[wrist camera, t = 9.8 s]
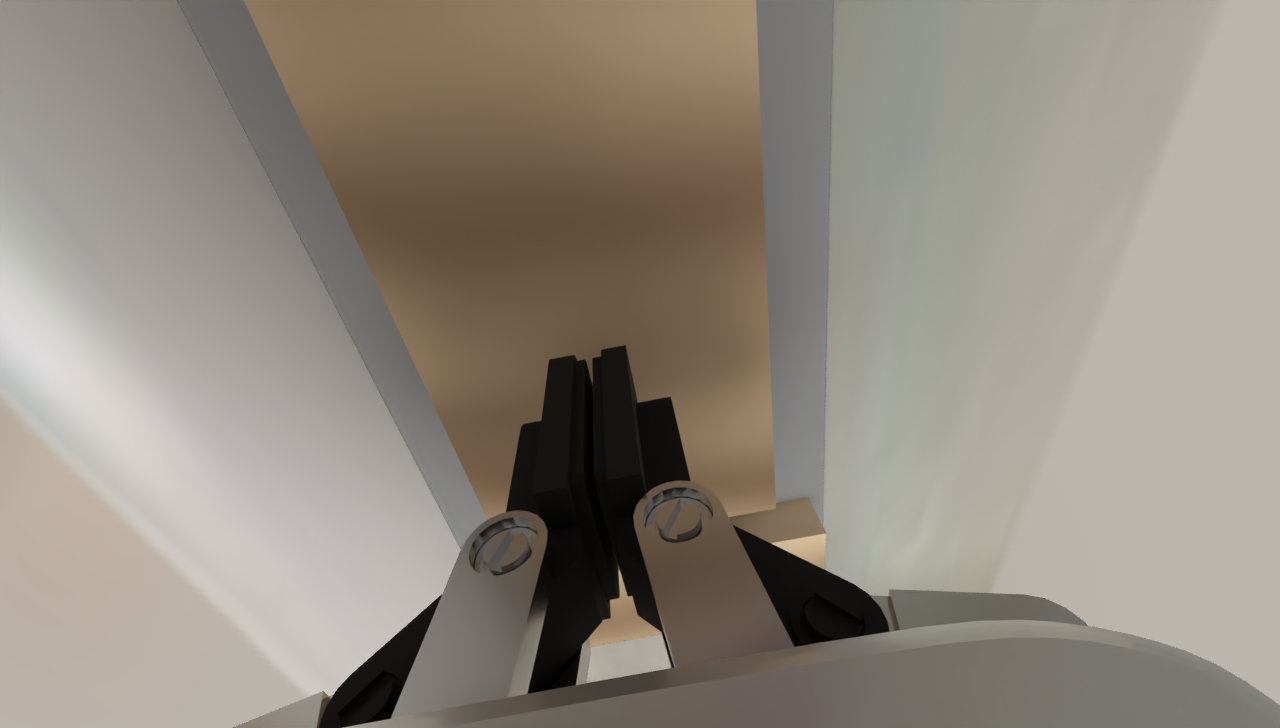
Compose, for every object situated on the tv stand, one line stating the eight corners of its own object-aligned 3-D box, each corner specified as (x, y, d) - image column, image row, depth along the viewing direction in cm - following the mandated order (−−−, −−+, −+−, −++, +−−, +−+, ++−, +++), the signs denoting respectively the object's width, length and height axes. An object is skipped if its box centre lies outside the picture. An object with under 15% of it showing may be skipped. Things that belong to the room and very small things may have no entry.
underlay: (-358, -1074, 5) (-410, -1135, 5) (847, -1362, 5) (862, -1441, 5) (501, 617, 19) (499, 625, 19) (819, 560, 19) (821, 567, 19)
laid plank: (480, 556, 17) (471, 597, 16) (808, 497, 17) (826, 533, 16) (512, 621, 19) (506, 661, 18) (808, 568, 19) (824, 605, 18)
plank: (-1, -668, 6) (-161, -862, 5) (686, -821, 6) (713, -1064, 5) (519, 534, 17) (513, 574, 16) (762, 490, 17) (776, 527, 16)
